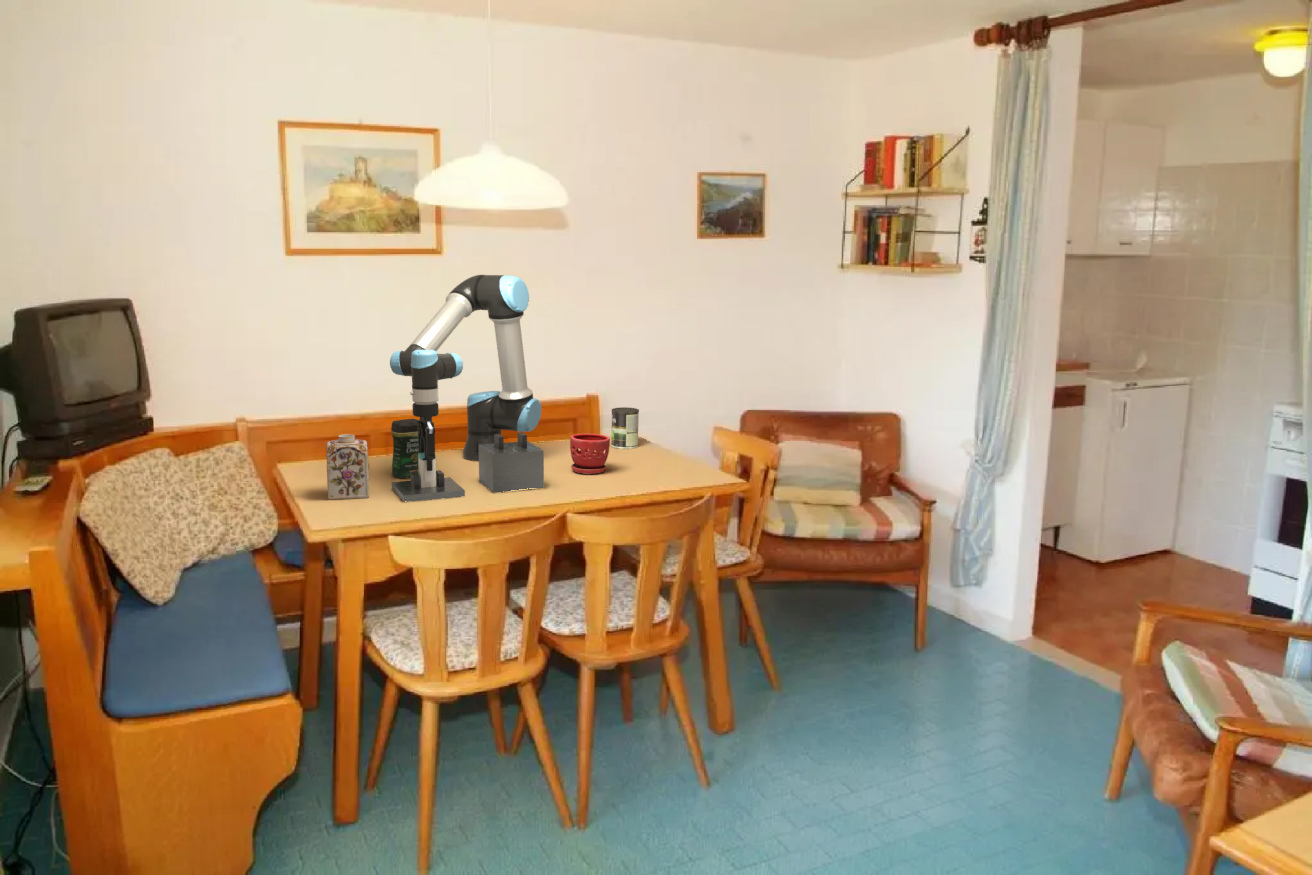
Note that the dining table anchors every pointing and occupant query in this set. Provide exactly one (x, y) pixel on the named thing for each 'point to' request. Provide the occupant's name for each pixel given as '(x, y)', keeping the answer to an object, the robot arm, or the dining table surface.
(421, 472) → the plug
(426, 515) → the dining table surface
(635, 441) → the coffee can
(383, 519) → the dining table surface
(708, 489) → the dining table surface
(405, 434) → the coffee jar
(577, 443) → the plant pot
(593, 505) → the dining table surface
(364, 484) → the decorative jar
